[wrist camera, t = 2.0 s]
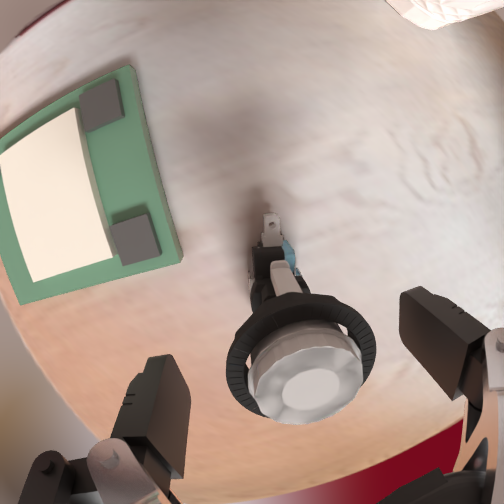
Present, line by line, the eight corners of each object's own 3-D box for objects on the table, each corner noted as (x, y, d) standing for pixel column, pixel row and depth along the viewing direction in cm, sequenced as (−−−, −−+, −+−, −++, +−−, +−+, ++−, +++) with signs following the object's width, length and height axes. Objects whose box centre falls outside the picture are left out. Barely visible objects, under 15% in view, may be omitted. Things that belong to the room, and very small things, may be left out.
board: (135, 70, 14) (121, 57, 11) (183, 256, 17) (176, 269, 15) (-13, 156, 14) (-32, 158, 11) (28, 299, 17) (11, 312, 15)
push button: (224, 214, 16) (209, 281, 7) (314, 209, 17) (407, 264, 7) (232, 317, 18) (234, 444, 9) (313, 310, 19) (371, 423, 9)
